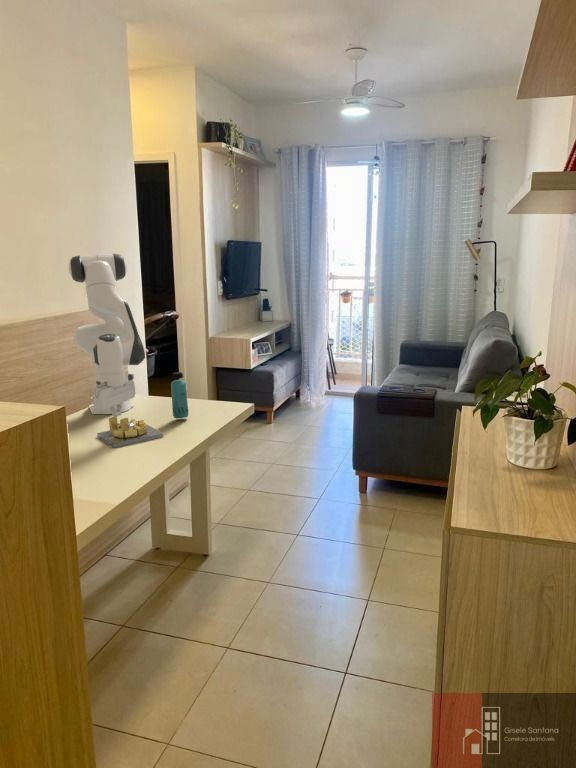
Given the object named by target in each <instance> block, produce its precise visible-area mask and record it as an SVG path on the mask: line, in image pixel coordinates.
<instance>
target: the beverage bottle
mask: <svg viewBox="0 0 576 768" xmlns="http://www.w3.org/2000/svg"><path fill="white" fill-rule="evenodd" d="M183 378H184V374H183V372H182V371H181V372H180V371H177V372H173V373H172V379H175V380H173V381H172V382H171V383H170V387H171V388H170V389H171V403H172V404H171V407H172V417H173V418H174V419H185V418H187V417H189V415H190V414H189V407H188V406H189V405H188V391H187V382H186V381H185V380H184V379H183Z"/></svg>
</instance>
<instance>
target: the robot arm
mask: <svg viewBox="0 0 576 768" xmlns="http://www.w3.org/2000/svg"><path fill="white" fill-rule="evenodd" d="M69 260H70V261H69V264H68V273H69V275H70V277H71V278H72V280H73V281H75V283H80V284H81V283H83V284H84V283H85V290H86V291H85V292H86V298H87V305H88V306H87V307H88V310H89V312H90V313H91V314H92V315H93V316H95V317H98V318H100V319H102V320H103V321H104V323H96V324H95V323H94V324H85V325H82V326H79V327H77V328H76V329H75V331H74V334H73V340H74V343H75V345H76V346H77V347H78V349H81V350H82V351H83V352H85V353H86V354H87V355H88V356H89V358H91V360H92V361H93V365H94V368H95V375H96V382H95V388H94V392H93V395H92V396H91V397H90V402H91V403H92V404H89V406H88V408H89V410H90V412H91V414H92V415H111V416H112V417H117V418H118V417H120V416H121V415H122V413H124V412H127V411H129V410H130V409H132V408H134V407H135V404H134V403H131V399H134V398H135V396H136V385H135V384H136V383H135V381H134V379H135V375H134V373H127V372H126V370H125V366H139V365H140V364H141V363H143V362H144V361H145V359H146V349H145V346H144V343H143V342H142V339H141V337H140V334H139V330H138V328H137V325H136V322H135V319H134V316H133V313H132V310H131V308H130V305H129V303H128V302H127V300H126V299H124V298H122V297H121V296H120V294H119V293H118V290H117V285H116V284H117V283H116V282H118V281H120V280H123V279H124V278H125V277H126V274H127V272H128V266H127V262H126V260H125V258H124V256H123V255H122V254H119V253H113V254H112V253H95V254H85V255H75V256H73V257H71V258H70V259H69Z"/></svg>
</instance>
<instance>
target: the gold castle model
mask: <svg viewBox="0 0 576 768" xmlns="http://www.w3.org/2000/svg"><path fill="white" fill-rule="evenodd" d="M134 425H136V423H133V422H130V421H129V429H132V428H133V426H134ZM146 425H147V432H146V433H144V434H142V435H137V436H135V437H127V438H125V437H124V438H120V437H114V436H113V435H112V431H111V430H110V429H109V430H105V431H100V432H97V433H96V436H97V437H96V438H98V439H100V440H101V441H103V442H104V443H105V444H107V445H108V446H110V448H113V449H118V448H120V447H126V446H131V445H134V444H139V443H143V442H144V443H145V442H148V441H151V440H152V441H153V440H157V439H161V438H164V433H163V432H161V431H160V430H158V429H157V428H154V427H153V426H150V425H148V424H147V423H146Z"/></svg>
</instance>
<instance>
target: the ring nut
mask: <svg viewBox="0 0 576 768" xmlns="http://www.w3.org/2000/svg"><path fill="white" fill-rule="evenodd" d="M118 422H119V423H118ZM129 422H133V423H136V425H134V426H133V428H132V429H129ZM108 423H109V430H111V431H112V435H113V436H114V437H120V438H124V437H125V438H127V437H135V436H137V435H142V434H144V433H146V432H147V425H148V424H147V423H146V422H145V420H144V419H140V420H137V421H136V419H135V418H132V419H131V420H130V421H129V417H124V418H121V419H119V421H118V416H117V417H113V416H112V417H110V418H108ZM146 424H147V425H146Z"/></svg>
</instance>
